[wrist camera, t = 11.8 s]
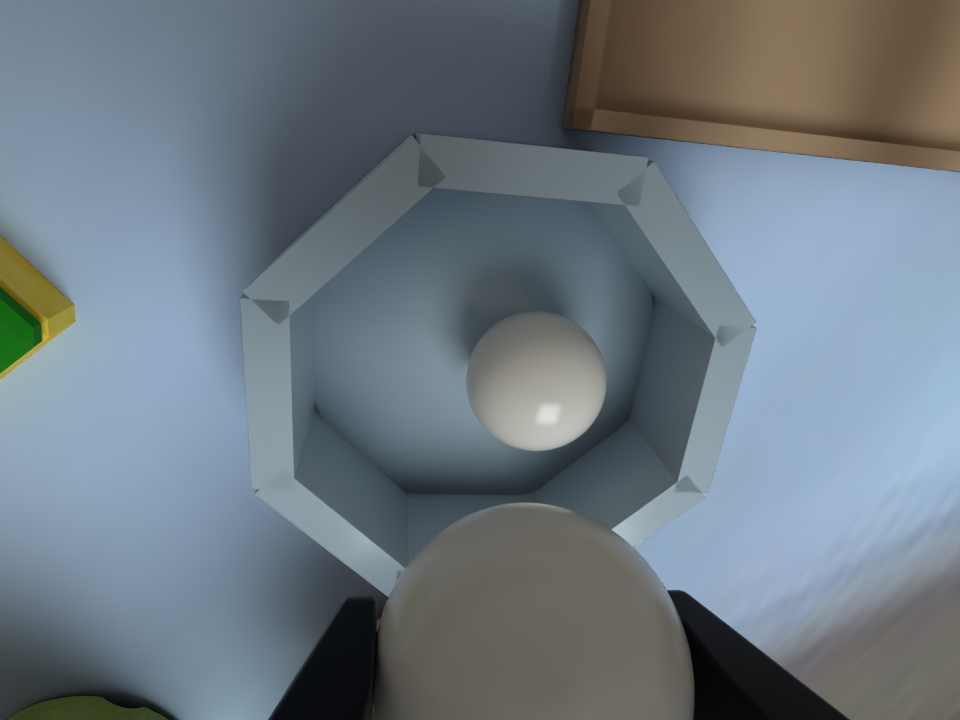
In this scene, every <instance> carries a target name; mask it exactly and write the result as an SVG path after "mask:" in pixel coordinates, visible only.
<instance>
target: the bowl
mask: <svg viewBox="0 0 960 720" xmlns="http://www.w3.org/2000/svg"><path fill="white" fill-rule="evenodd" d="M243 293H244V295H243V296H242V297H241V298H240V308H241V324H242V340H243V357H244V373H245V390H246V406H247V423H248V439H249V455H250V472H251V488H252V489H256V492H255V495H256V496H257V497H259V498H260V499H261V500H263V501H264V502H265V503H266V504H268V505H269V506H270V507H272V508H273V509H274V510H276V511H277V512H278V513H279V514H281V515H282V516H283V517H285V518H286V519H287V520H289V521H290V522H291V523H292V524H294V525H295V526H296V527H298V528H299V529H300V530H302V531H303V532H304V533H305V534H307V535H308V536H309V537H311V538H312V539H313V540H315V541H316V542H317V543H318V544H320V545H321V546H322V547H324V548H325V549H326V550H328V551H329V552H330V553H331V554H333V555H334V556H335V557H337V558H338V559H339V560H340V561H342V562H343V563H344V564H346V565H347V566H348V567H350V568H351V569H352V570H353V571H355V572H356V573H357V574H359V575H360V576H361V577H363V578H364V579H365V580H366V581H368V582H369V583H370V584H372V585H373V586H374V587H376V588H377V589H378V590H379V591H381V592H382V593H383V594H385V595H386V596H387V597H389V596H390V593H391V591H392V589H393V587H394V585H395V584H396V582H397V580H398V578H399V576H400V575H401V573H402V572H403V570H404V569H405V567H406V566H407V564H408V563H409V562H410V561H411V559H412V558H413V557H414V556H415V555H416V553H417V552H418V551H419V550H420V549H421V548H422V547H423V546H424V545H425V544H426V543H427V542H428V541H429V540H430V539H431V538H433V537H434V536H435V535H436V534H437V533H439V532H440V531H442V530H443V529H444V528H446V527H447V526H449V525H450V524H452V523H453V522H455V521H457V520H459V519H461V518H462V517H464V516H466V515H468V514H471V513H473V512H476V511H479V510H481V509H484V508H488V507H492V506H495V505H501V504H507V503H519V502H531V503H543V504H549V505H555V506H560V507H564V508H568V509H571V510H574V511H577V512H579V513H581V514H583V515H586V516H588V517H590V518H592V519H594V520H596V521H598V522H600V523H602V524H604V525H605V526H607V527H608V528H610V529H611V530H613V531H614V532H615V533H617V534H618V535H619V536H621V537H622V538H623V539H625V540H626V541H627V542H628V543H629V544H630V545H631V546H632V547H636V546H637V545H638V544H640V543H641V542H643V541H644V540H645V539H647V538H648V537H650V536H651V535H652V534H654V533H655V532H657V531H658V530H659V529H661V528H662V527H664V526H665V525H667V524H668V523H669V522H671V521H672V520H674V519H675V518H676V517H678V516H679V515H681V514H682V513H683V512H685V511H686V510H688V509H689V508H690V507H692V506H693V505H695V504H696V503H697V502H699V501H700V500H702V499H703V498H705V496H704V495H703V494H702V493H708V492H709V489H710V485H711V482H712V479H713V475H714V472H715V468H716V465H717V462H718V458H719V455H720V451H721V448H722V444H723V441H724V438H725V434H726V431H727V427H728V424H729V421H730V417H731V414H732V410H733V407H734V403H735V400H736V397H737V393H738V390H739V386H740V383H741V380H742V376H743V373H744V369H745V366H746V362H747V359H748V356H749V352H750V349H751V345H752V342H753V339H754V335H755V332H756V327H754V326H752V325H753V324H754V323H755V322H756V321H755V319H754V318H753V316H752V315H751V313H750V312H749V310H748V308H747V307H746V305H745V304H744V302H743V301H742V299H741V297H740V296H739V294H738V293H737V291H736V289H735V288H734V286H733V285H732V283H731V282H730V280H729V278H728V277H727V275H726V274H725V272H724V270H723V269H722V267H721V266H720V264H719V263H718V261H717V259H716V258H715V256H714V255H713V253H712V252H711V250H710V248H709V247H708V245H707V244H706V242H705V240H704V239H703V237H702V236H701V234H700V233H699V231H698V229H697V228H696V226H695V225H694V223H693V221H692V220H691V218H690V217H689V215H688V214H687V212H686V210H685V209H684V207H683V206H682V204H681V203H680V201H679V199H678V198H677V196H676V195H675V193H674V191H673V190H672V188H671V187H670V185H669V184H668V182H667V180H666V179H665V177H664V176H663V174H662V172H661V171H660V169H659V168H658V166H657V165H656V163H655V161H648V158H647V157H638V156H629V155H621V154H612V153H603V152H594V151H585V150H575V149H566V148H556V147H546V146H537V145H527V144H518V143H508V142H499V141H489V140H479V139H470V138H460V137H451V136H441V135H432V134H422V133H416V139H415V138H414V137H413V136H412V135H410V136H408V137H407V138H406V139H405V140H404V141H403V142H402V143H401V144H400V145H399V146H397V147H396V148H395V149H394V150H393V151H392V152H391V153H390V154H389V155H388V156H387V157H385V158H384V159H383V160H382V161H381V162H380V163H379V164H378V165H377V166H376V167H375V168H373V169H372V170H371V171H370V172H369V173H368V174H367V175H366V176H365V177H364V178H362V179H361V180H360V181H359V182H358V183H357V184H356V185H355V186H354V187H353V188H352V189H350V190H349V191H348V192H347V193H346V194H345V195H344V196H343V197H342V198H341V199H340V200H338V201H337V202H336V203H335V204H334V205H333V206H332V207H331V208H330V209H329V210H327V211H326V212H325V213H324V214H323V215H322V216H321V217H320V218H319V219H318V220H317V221H315V222H314V223H313V224H312V225H311V226H310V227H309V228H308V229H307V230H306V231H305V232H303V233H302V234H301V235H300V236H299V237H298V238H297V239H296V240H295V241H294V242H292V243H291V244H290V245H289V246H288V247H287V248H286V249H285V250H284V251H283V252H282V253H280V254H279V255H278V256H277V257H276V259H275V260H274V261H273V262H272V263H271V264H270V265H269V266H268V267H267V268H266V269H265V270H264V271H263V272H262V273H261V274H260V275H259V276H258V277H257V278H256V279H255V280H254V281H253V282H252V283H251V284H250V285H249V286H248V287H247V288H246V289H245V290H244V291H243ZM526 311H547V312H552V313H556V314H559V315H562V316H564V317H566V318H569V319H570V320H572V321H574V322H575V323H577V324H578V325H579V326H581V327H582V328H583V329H584V330H585V331H586V332H587V333H588V334H589V335H590V336H591V337H592V339H593V340H594V342H595V343H596V344H597V346H598V348H599V350H600V352H601V354H602V357H603V360H604V363H605V368H606V375H607V388H606V395H605V399H604V403H603V406H602V408H601V410H600V412H599V414H598V416H597V418H596V419H595V421H594V422H593V423H592V425H591V426H590V427H589V428H588V429H587V430H586V431H585V432H584V433H583V434H582V435H581V436H580V437H578V438H577V439H575V440H574V441H572V442H570V443H569V444H567V445H564V446H562V447H559V448H556V449H551V450H546V451H527V450H522V449H518V448H515V447H511V446H509V445H507V444H505V443H503V442H501V441H500V440H498V439H496V438H495V437H493V436H492V435H491V434H490V433H489V432H488V431H487V430H486V429H485V428H484V427H483V426H482V425H481V424H480V422H479V421H478V419H477V418H476V416H475V414H474V412H473V410H472V408H471V406H470V403H469V399H468V396H467V390H466V372H467V366H468V362H469V358H470V355H471V353H472V351H473V349H474V347H475V345H476V344H477V342H478V341H479V339H480V338H481V337H482V335H483V334H484V333H485V332H486V331H487V330H488V329H489V328H490V327H492V326H493V325H494V324H496V323H497V322H498V321H500V320H502V319H504V318H506V317H508V316H511V315H513V314H517V313H520V312H526Z"/></svg>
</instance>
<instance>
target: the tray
mask: <svg viewBox="0 0 960 720" xmlns="http://www.w3.org/2000/svg"><path fill="white" fill-rule="evenodd" d="M562 128H565V129H574V130H583V131H592V132H601V133H610V134H619V135H628V136H637V137H646V138H655V139H664V140H673V141H682V142H692V143H701V144H710V145H719V146H728V147H737V148H746V149H755V150H764V151H773V152H782V153H791V154H800V155H809V156H819V157H828V158H837V159H846V160H855V161H864V162H873V163H882V164H891V165H900V166H909V167H918V168H927V169H936V170H945V171H955V172H960V0H580V1H579V8H578V16H577V23H576V30H575V37H574V44H573V51H572V59H571V66H570V73H569V80H568V87H567V94H566V101H565V109H564V116H563V123H562Z"/></svg>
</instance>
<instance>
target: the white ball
mask: <svg viewBox="0 0 960 720" xmlns="http://www.w3.org/2000/svg"><path fill="white" fill-rule="evenodd" d="M606 388H607V375H606V368H605V363H604V360H603V357H602V354H601V352H600V350H599V348H598V346H597V344H596V343H595V342H594V340H593V339H592V337H591V336H590V335H589V334H588V333H587V332H586V331H585V330H584V329H583V328H582V327H581V326H579V325H578V324H577V323H575V322H574V321H572V320H570V319H569V318H566V317H564V316H562V315H559V314H556V313H552V312H547V311H526V312H520V313H517V314H513V315H511V316H508V317H506V318H504V319H502V320H500V321H498V322H497V323H496V324H494V325H493V326H492V327H490V328H489V329H488V330H487V331H486V332H485V333H484V334H483V335H482V337H481V338H480V339H479V341H478V342H477V344H476V345H475V347H474V349H473V351H472V353H471V355H470V358H469V362H468V366H467V372H466V390H467V396H468V399H469V403H470V406H471V408H472V410H473V412H474V414H475V416H476V418H477V419H478V421H479V422H480V424H481V425H482V426H483V427H484V428H485V429H486V430H487V431H488V432H489V433H490V434H491V435H492V436H493V437H495V438H496V439H498V440H500V441H501V442H503V443H505V444H507V445H509V446H511V447H515V448H518V449H522V450H527V451H546V450H551V449H556V448H559V447H562V446H564V445H567V444H569V443H570V442H572V441H574V440H575V439H577V438H578V437H580V436H581V435H582V434H583V433H584V432H585V431H586V430H587V429H588V428H589V427H590V426H591V425H592V423H593V422H594V421H595V419H596V418H597V416H598V414H599V412H600V410H601V408H602V406H603V403H604V399H605V395H606Z"/></svg>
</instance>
